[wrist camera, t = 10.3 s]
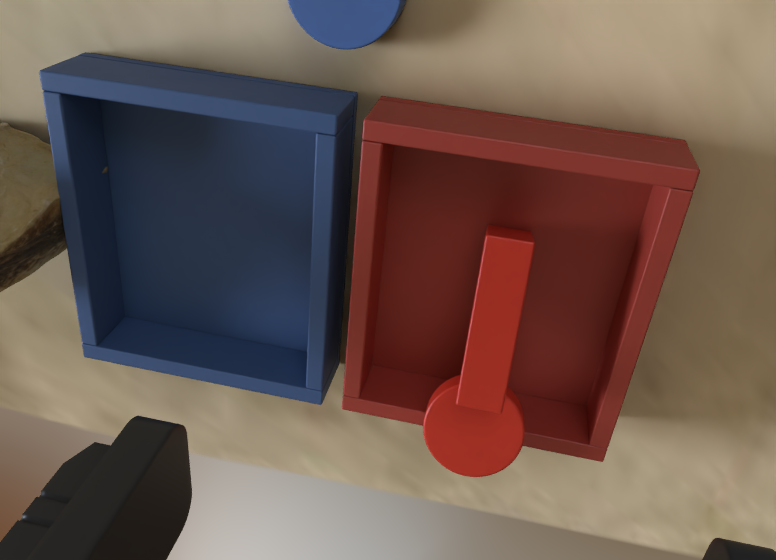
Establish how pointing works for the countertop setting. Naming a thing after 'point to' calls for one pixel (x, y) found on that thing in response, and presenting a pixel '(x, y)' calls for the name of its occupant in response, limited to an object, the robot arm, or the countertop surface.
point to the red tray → (548, 269)
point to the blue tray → (204, 219)
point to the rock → (27, 206)
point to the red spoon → (485, 367)
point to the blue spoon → (346, 20)
